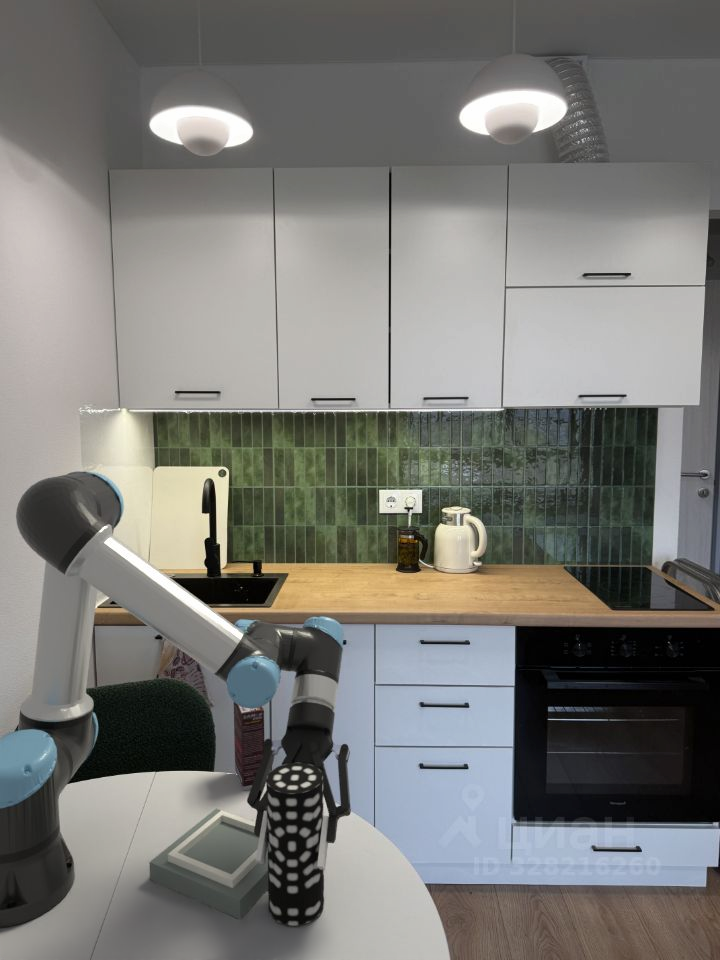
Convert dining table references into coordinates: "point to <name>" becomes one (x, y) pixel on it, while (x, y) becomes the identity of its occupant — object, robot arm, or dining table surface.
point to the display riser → (215, 864)
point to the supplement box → (248, 743)
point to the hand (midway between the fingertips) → (290, 864)
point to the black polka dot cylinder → (294, 843)
